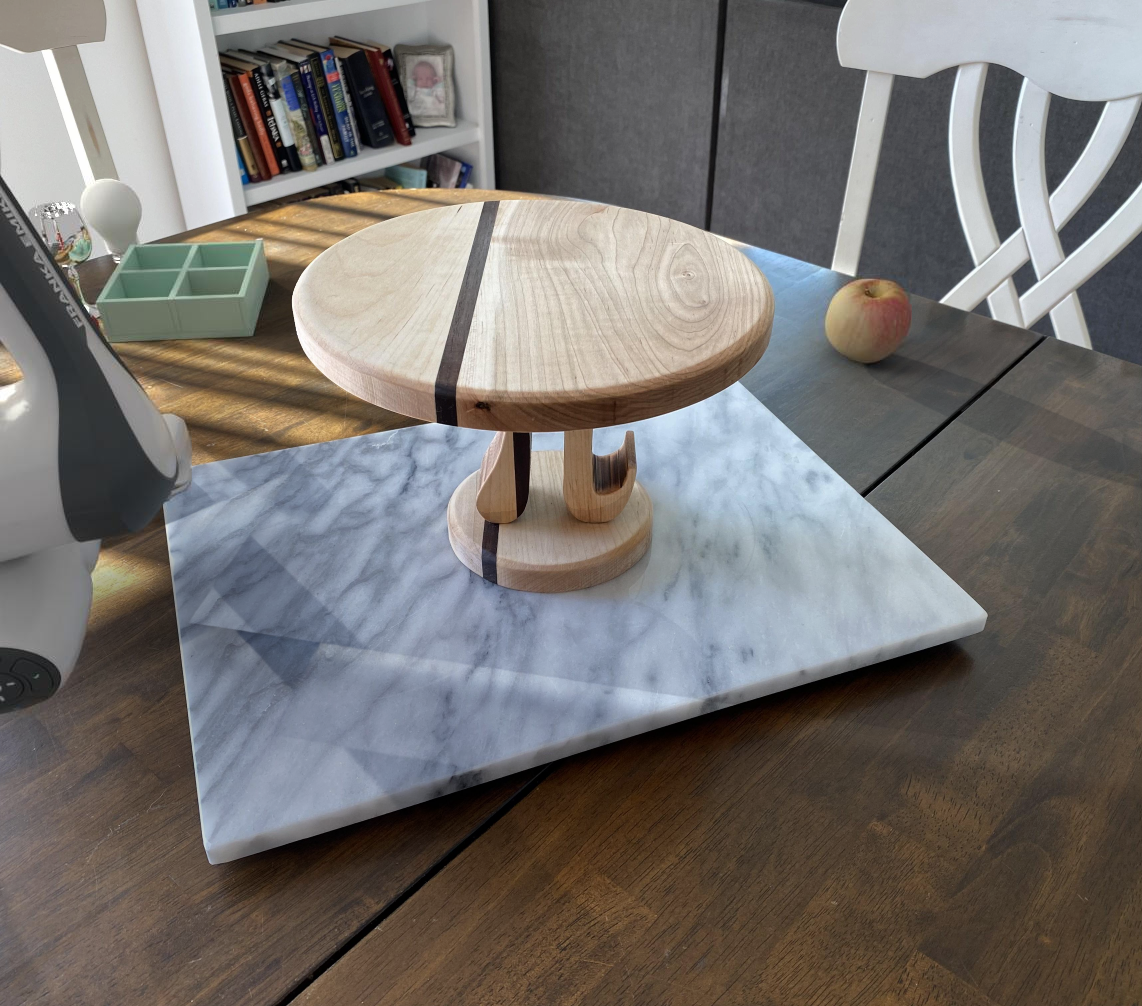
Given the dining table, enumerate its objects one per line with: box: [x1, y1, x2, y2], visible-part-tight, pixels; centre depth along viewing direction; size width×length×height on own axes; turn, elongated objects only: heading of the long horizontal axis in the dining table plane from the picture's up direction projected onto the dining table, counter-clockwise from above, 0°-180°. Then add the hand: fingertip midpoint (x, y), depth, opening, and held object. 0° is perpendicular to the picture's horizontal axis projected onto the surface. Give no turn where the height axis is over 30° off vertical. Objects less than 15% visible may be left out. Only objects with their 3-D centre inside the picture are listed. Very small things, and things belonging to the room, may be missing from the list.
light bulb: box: [79, 178, 143, 267], centre depth 113 cm, size 7×7×11 cm
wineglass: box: [27, 201, 101, 319], centre depth 103 cm, size 6×6×12 cm
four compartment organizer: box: [95, 240, 270, 343], centre depth 107 cm, size 15×15×5 cm
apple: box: [824, 278, 912, 364], centre depth 101 cm, size 9×9×8 cm
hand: (59, 415), depth 75 cm, fingers open, 8 cm apart
